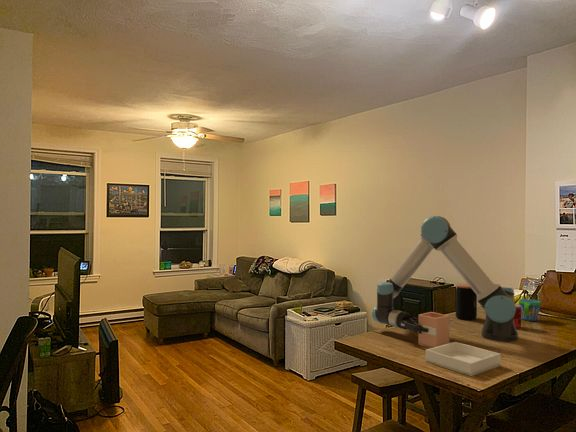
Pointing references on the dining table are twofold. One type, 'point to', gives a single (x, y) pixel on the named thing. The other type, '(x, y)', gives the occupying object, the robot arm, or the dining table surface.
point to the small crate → (441, 329)
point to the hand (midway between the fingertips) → (443, 330)
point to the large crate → (462, 358)
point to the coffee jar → (466, 302)
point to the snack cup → (529, 309)
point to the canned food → (517, 316)
